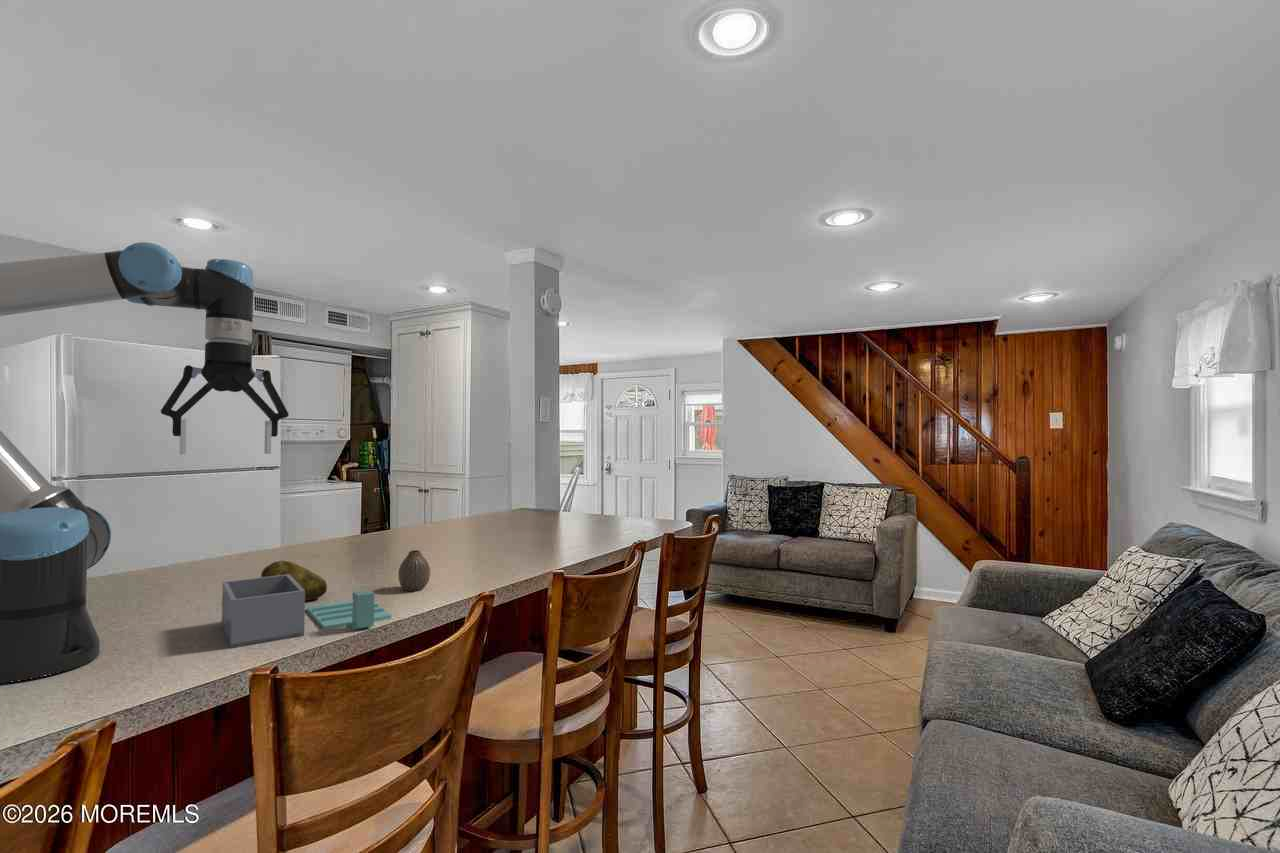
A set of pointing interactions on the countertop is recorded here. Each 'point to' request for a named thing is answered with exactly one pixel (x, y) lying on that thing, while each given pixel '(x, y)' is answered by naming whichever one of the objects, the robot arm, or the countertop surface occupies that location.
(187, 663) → the countertop surface
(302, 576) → the potato
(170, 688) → the countertop surface
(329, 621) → the lid
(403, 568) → the vase
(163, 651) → the countertop surface
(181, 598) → the countertop surface
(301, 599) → the tub
